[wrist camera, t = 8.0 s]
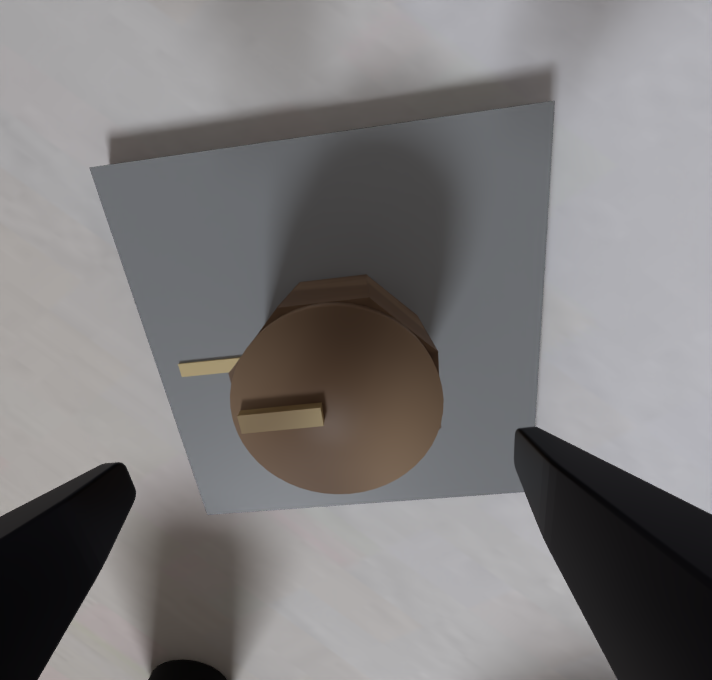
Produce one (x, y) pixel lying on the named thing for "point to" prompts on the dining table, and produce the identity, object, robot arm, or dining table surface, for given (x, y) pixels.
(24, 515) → the robot arm
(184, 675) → the cup
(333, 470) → the knob
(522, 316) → the base plate
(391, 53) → the dining table surface
